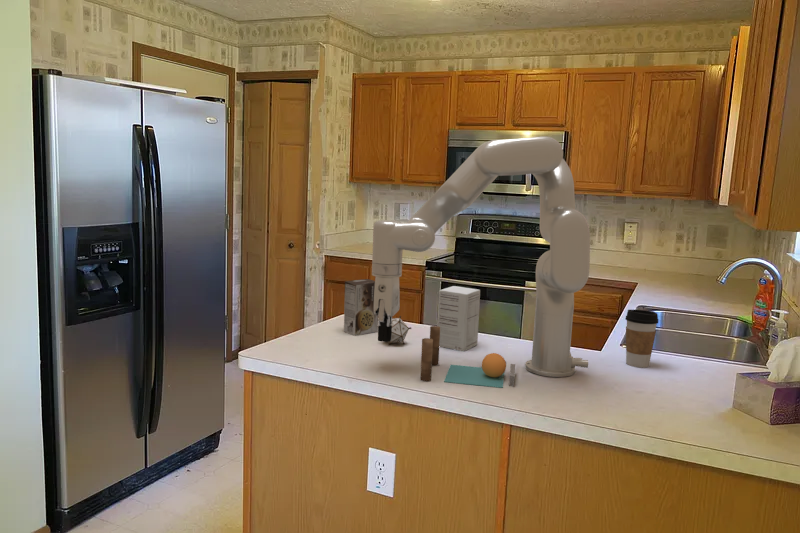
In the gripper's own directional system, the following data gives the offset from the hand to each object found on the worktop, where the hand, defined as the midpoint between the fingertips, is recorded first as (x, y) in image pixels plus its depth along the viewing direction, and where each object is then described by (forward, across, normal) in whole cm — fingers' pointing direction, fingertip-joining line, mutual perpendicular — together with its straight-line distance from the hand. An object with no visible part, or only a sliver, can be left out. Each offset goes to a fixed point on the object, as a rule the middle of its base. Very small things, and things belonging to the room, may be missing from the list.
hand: (384, 340), depth 156 cm
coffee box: (+7, +33, +15) cm, 37 cm away
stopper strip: (+7, 0, -32) cm, 33 cm away
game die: (+7, +23, +2) cm, 24 cm away
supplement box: (+7, +27, -16) cm, 32 cm away
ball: (+4, +1, -28) cm, 28 cm away
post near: (+7, -7, -12) cm, 15 cm away
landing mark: (+7, 0, -24) cm, 25 cm away
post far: (+7, +6, -12) cm, 15 cm away
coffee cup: (+7, +24, -66) cm, 71 cm away
